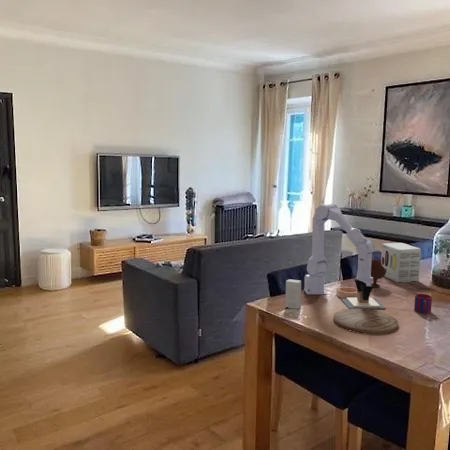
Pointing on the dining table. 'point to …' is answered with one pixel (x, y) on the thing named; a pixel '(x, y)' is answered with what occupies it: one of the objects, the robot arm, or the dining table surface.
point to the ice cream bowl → (377, 271)
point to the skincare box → (293, 293)
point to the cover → (362, 301)
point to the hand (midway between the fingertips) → (362, 297)
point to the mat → (361, 307)
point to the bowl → (347, 292)
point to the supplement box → (401, 261)
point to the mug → (423, 303)
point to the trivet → (365, 321)
